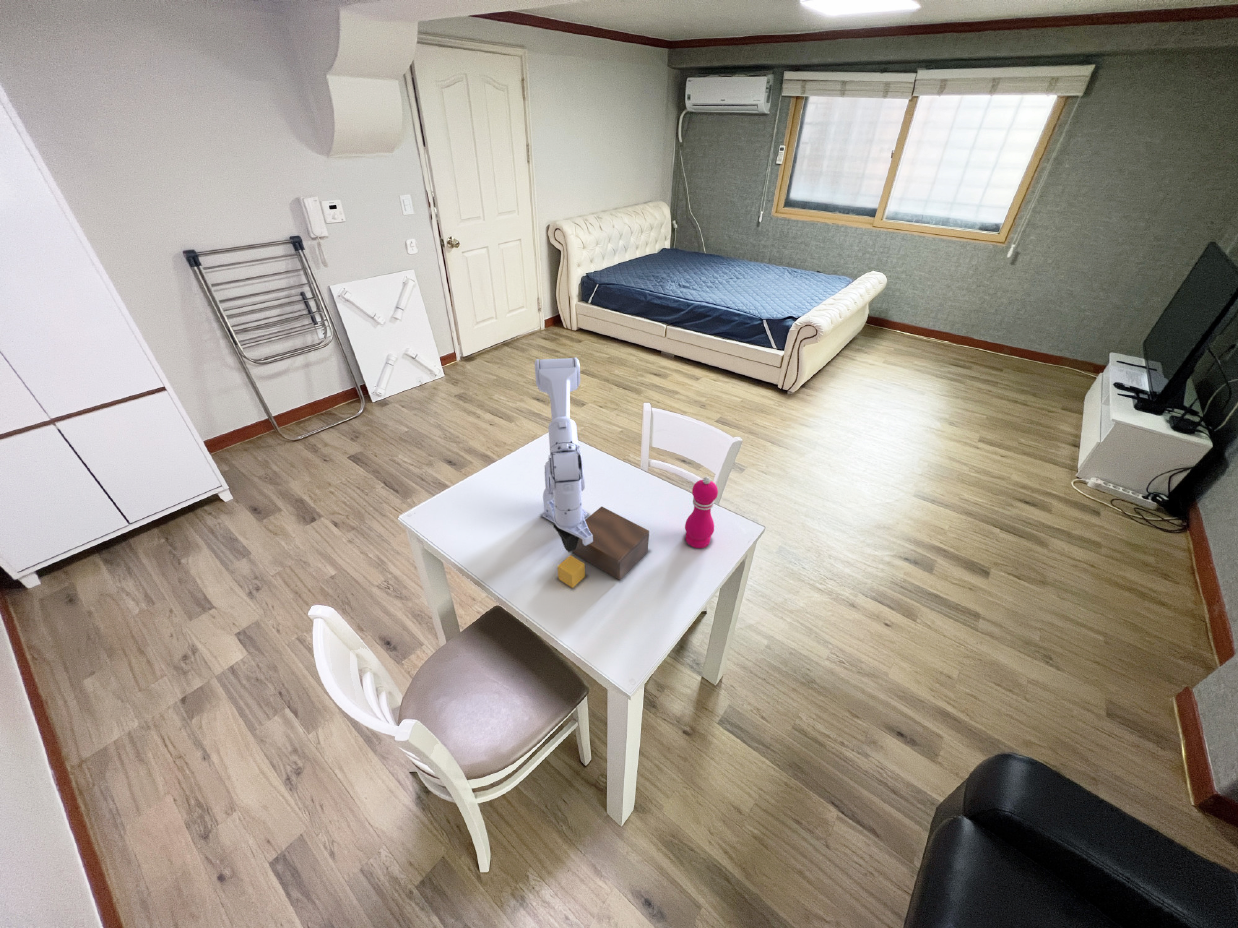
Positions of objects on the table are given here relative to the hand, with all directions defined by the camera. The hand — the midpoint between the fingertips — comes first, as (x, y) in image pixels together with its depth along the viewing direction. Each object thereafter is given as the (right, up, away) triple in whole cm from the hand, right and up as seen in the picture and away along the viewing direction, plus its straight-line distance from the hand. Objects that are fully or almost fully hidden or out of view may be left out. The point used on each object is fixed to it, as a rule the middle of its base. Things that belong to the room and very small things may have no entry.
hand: (570, 548), depth 108 cm
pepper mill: (+31, -1, +16) cm, 35 cm away
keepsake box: (+9, -3, +12) cm, 15 cm away
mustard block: (0, -8, +5) cm, 9 cm away
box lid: (+8, +2, +8) cm, 12 cm away
